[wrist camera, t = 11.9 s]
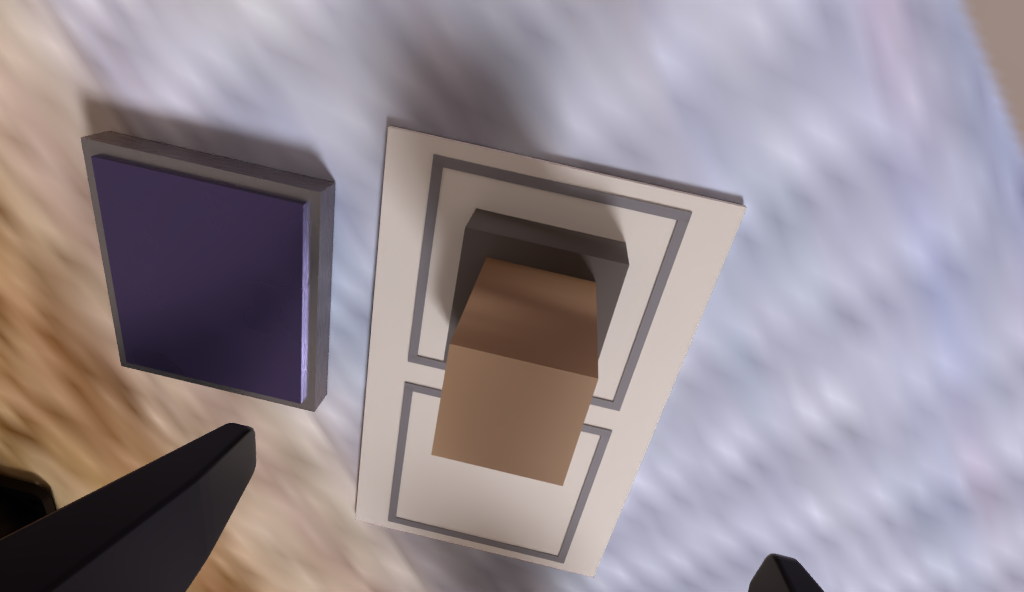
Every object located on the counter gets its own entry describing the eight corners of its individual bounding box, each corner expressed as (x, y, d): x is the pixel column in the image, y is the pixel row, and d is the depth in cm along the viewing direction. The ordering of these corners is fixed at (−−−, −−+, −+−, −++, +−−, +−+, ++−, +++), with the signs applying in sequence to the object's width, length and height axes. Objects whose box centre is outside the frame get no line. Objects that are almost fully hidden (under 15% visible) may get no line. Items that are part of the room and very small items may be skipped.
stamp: (454, 335, 18) (397, 470, 13) (476, 208, 16) (419, 305, 11) (586, 366, 18) (585, 515, 12) (625, 242, 16) (643, 357, 10)
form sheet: (357, 515, 23) (354, 520, 22) (390, 125, 15) (387, 127, 15) (593, 573, 22) (593, 578, 22) (744, 205, 15) (747, 208, 15)
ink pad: (142, 350, 20) (116, 368, 19) (108, 130, 16) (74, 139, 15) (326, 394, 20) (311, 415, 19) (335, 182, 16) (317, 194, 15)
